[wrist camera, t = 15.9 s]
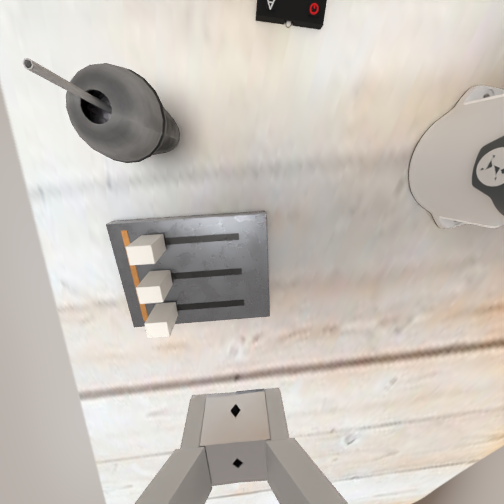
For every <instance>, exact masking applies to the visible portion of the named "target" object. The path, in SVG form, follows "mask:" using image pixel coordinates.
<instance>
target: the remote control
mask: <svg viewBox="0 0 504 504" xmlns="http://www.w3.org/2000/svg"><path fill="white" fill-rule="evenodd" d="M326 1H327V0H257V11H256V20H257V21H264V22H271V23H278V24H283V23H284V22H286V26H287V27H290V26H291V23H293V26H300V27H307V28H314V29H321V27H322V26H323V21H324V14H325V8H326Z"/></svg>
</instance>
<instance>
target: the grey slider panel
mask: <svg viewBox="0 0 504 504" xmlns="http://www.w3.org/2000/svg"><path fill="white" fill-rule="evenodd" d="M106 226H107V230H108V233H109V237H110V241H111V244H112V248H113V252H114V255H115V259H116V263H117V266H118V270H119V274H120V277H121V281H122V285H123V288H124V292H125V296H126V299H127V303H128V306H129V310H130V314H131V317H132V321H133V325H134V327H142V326H145V325H144V323H145V322H146V320H147V318H148V317H149V315H150V313H151V311H152V310H153V308H154V306H155V305H156V304H157V303H147V304H140V302H139V298H138V294H137V290H136V287H137V286H138V285H139V283H140V282H141V281H142V280H143V278H144V277H145V276H146V275H147V274H148V272H149V271H160V270H170V272H171V278H172V283H173V285H172V287H171V289H170V290H169V292H168V294H167V296H166V298H165V300H164V301H163V302H160V303H170V302H176V307H177V312H178V317H177V319H176V322H175V324H179V323H192V322H204V321H217V320H229V319H242V318H254V317H267V316H270V311H269V283H268V254H267V226H266V213H265V211H259V212H243V213H228V214H213V215H198V216H182V217H167V218H152V219H137V220H122V221H112V222H110V223H108V224H106ZM153 234H163V236H164V241H165V246H166V251H165V252H164V253H163V255H162V256H161V257H160V258H159V259H158V261H157V262H156V263H155V264H144V265H130V263H129V259H128V255H127V251H126V246H128V245H129V244H130V243H132V242H133V241H134V240H136V239H137V238H138V237H140V236H141V235H153Z"/></svg>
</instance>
